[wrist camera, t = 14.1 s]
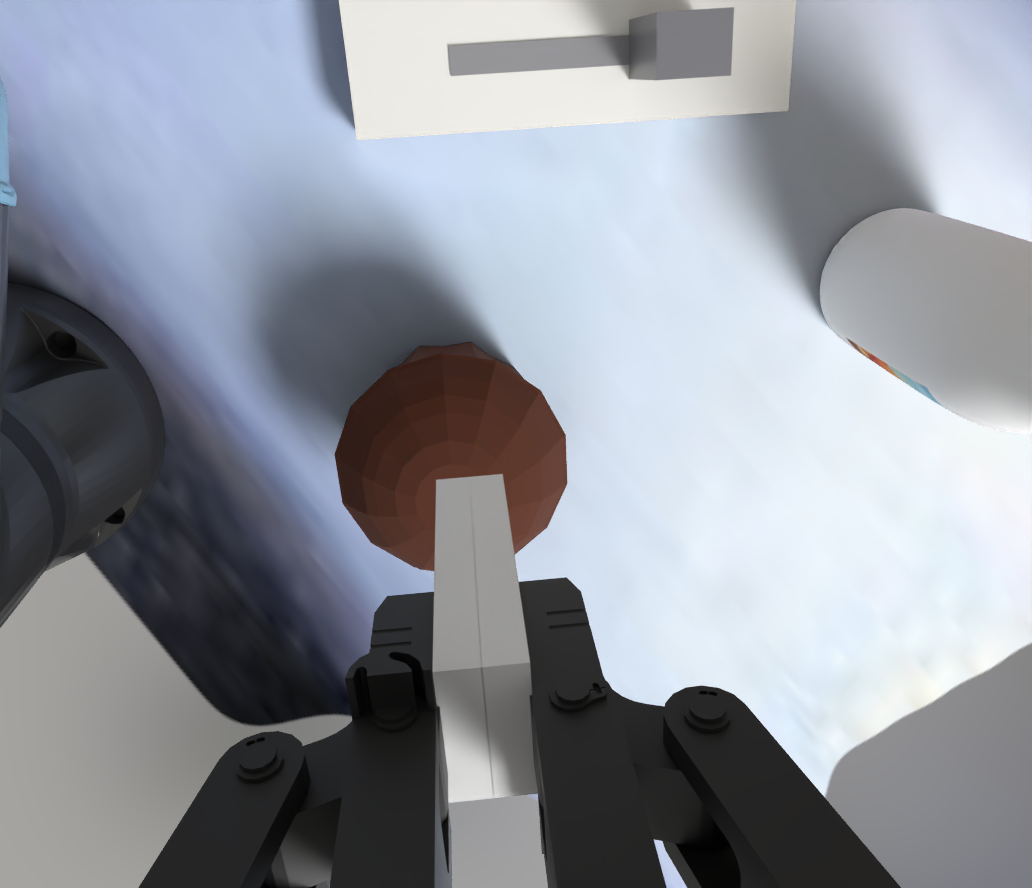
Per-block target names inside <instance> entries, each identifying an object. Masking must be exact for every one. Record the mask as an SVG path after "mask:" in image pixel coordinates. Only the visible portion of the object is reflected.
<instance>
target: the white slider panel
mask: <svg viewBox="0 0 1032 888" xmlns="http://www.w3.org/2000/svg"><path fill="white" fill-rule="evenodd" d="M339 6H340V14H341V21H342V29H343V37H344V45H345V52H346V60H347V68H348V75H349V83H350V91H351V99H352V106H353V114H354V122H355V129H356V137H357V140H367V139H382V138H397V137H412V136H426V135H441V134H456V133H471V132H486V131H500V130H515V129H530V128H545V127H560V126H574V125H589V124H604V123H619V122H634V121H648V120H663V119H678V118H693V117H708V116H722V115H737V114H752V113H767V112H782V111H788V109H789V95H790V81H791V67H792V53H793V40H794V26H795V12H796V0H339Z"/></svg>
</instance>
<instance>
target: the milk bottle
mask: <svg viewBox="0 0 1032 888" xmlns="http://www.w3.org/2000/svg"><path fill="white" fill-rule="evenodd" d="M820 304H821V308H822V312H823V315H824V318H825V320H826V322H827V324H828V325H829V327H830V328H831V329H832V331H833V332H834V333H835V334H836V335H837V336H838V337H839V338H841V339H842V340H843V341H844V342H846V343H847V344H848V345H850V346H851V347H852V348H854V349H855V350H857V351H858V352H860V353H861V354H863V355H864V356H866V357H867V358H869V359H870V360H872V361H873V362H875V363H876V364H878V365H879V366H881V367H882V368H884V369H885V370H887V371H888V372H890V373H891V374H892V375H894V376H895V377H897V378H899V379H900V380H902V381H903V382H905V383H906V384H908V385H909V386H911V387H912V388H914V389H915V390H917V391H918V392H920V393H922V394H923V395H925V396H926V397H928V398H929V399H931V400H932V401H934V402H936V403H937V404H939V405H941V406H943V407H944V408H946V409H948V410H949V411H951V412H953V413H955V414H956V415H958V416H960V417H962V418H964V419H967V420H969V421H972V422H974V423H976V424H979V425H982V426H985V427H989V428H992V429H996V430H1001V431H1007V432H1015V433H1032V242H1029V241H1026V240H1023V239H1020V238H1016V237H1013V236H1010V235H1007V234H1003V233H1000V232H997V231H994V230H990V229H987V228H983V227H980V226H976V225H973V224H969V223H966V222H963V221H959V220H956V219H952V218H949V217H945V216H942V215H938V214H935V213H931V212H927V211H922V210H918V209H912V208H896V209H890V210H886V211H882V212H880V213H877V214H874V215H872V216H870V217H868V218H866V219H865V220H863V221H861V222H860V223H858V224H857V225H855V226H854V227H853V228H851V229H850V230H849V231H848V232H847V233H846V234H845V235H844V236H843V237H842V238H841V239H840V241H839V242H838V243H837V244H836V246H835V247H834V248H833V250H832V252H831V254H830V255H829V257H828V259H827V261H826V263H825V266H824V269H823V272H822V275H821V283H820Z"/></svg>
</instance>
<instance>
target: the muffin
mask: <svg viewBox="0 0 1032 888" xmlns="http://www.w3.org/2000/svg"><path fill="white" fill-rule="evenodd" d="M335 459H336V465H337V471H338V478H339V484H340V490H341V496H342V502H343V504H344V506H345V507H346V508H347V510H348V511H349V513H350V514H351V515H352V517H353V518H354V520H355V521H356V522H357V524H358V525H359V526H360V528H361V529H362V531H363V532H364V533H365V535H366V536H367V538H368V539H369V540H370V542H371V543H372V544H374V545H376V546H378V547H380V548H381V549H383V550H385V551H387V552H388V553H390V554H392V555H394V556H395V557H397V558H399V559H401V560H403V561H404V562H406V563H408V564H410V565H411V566H413V567H417V568H419V569H421V570H430V571H434V568H435V516H436V480H439V479H451V478H462V477H473V476H485V475H496V474H503V480H504V487H505V494H506V500H507V507H508V514H509V521H510V528H511V535H512V542H513V548H514V555H515V554H516V553H517V552H518V551H520V550H521V549H522V548H523V547H524V546H526V545H527V544H528V543H529V542H530V541H531V540H533V539H534V538H535V537H536V536H537V535H539V534H540V533H541V532H542V531H543V530H544V529H546V528H547V526H548V524H549V522H550V520H551V518H552V516H553V513H554V511H555V509H556V507H557V505H558V502H559V500H560V498H561V496H562V494H563V492H564V489H565V487H566V485H567V464H566V436H565V433H564V431H563V430H562V428H561V426H560V424H559V422H558V421H557V419H556V417H555V415H554V414H553V412H552V410H551V408H550V406H549V405H548V403H547V401H546V399H545V397H544V396H543V394H542V392H541V391H540V390H539V389H538V388H536V387H535V386H533V385H532V384H530V383H529V382H527V381H526V380H524V378H523V377H522V376H521V375H520V374H519V373H518V371H517V370H516V369H515V368H514V367H513V366H510V365H508V364H506V363H504V362H502V361H500V360H498V359H495V358H493V357H491V356H490V355H488V354H487V353H486V352H484V351H483V350H481V349H480V348H479V347H477V346H476V345H474V344H473V343H472V342H466V343H460V344H455V345H449V346H419V347H418V348H417V349H416V350H415V351H414V352H413V353H412V354H411V355H410V356H409V357H408V358H407V359H406V360H405V361H404V362H403V363H402V364H400V365H399V366H397V367H395V368H392V369H389V370H388V371H387V372H386V373H385V374H384V375H383V376H382V377H381V378H380V379H379V380H378V381H377V382H376V383H374V384H373V385H372V386H371V387H370V388H369V389H368V390H367V391H366V392H365V393H364V394H363V395H362V396H361V397H360V398H359V399H358V400H357V401H356V402H355V403H354V404H353V405H352V406H351V407H350V410H349V413H348V416H347V419H346V422H345V425H344V428H343V431H342V434H341V437H340V440H339V443H338V446H337V449H336V452H335Z"/></svg>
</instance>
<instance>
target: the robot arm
mask: <svg viewBox="0 0 1032 888" xmlns="http://www.w3.org/2000/svg"><path fill="white" fill-rule="evenodd" d="M16 200H17V195H16V193H15V190H14V188H13V187H12V186H11V185H10V183H9V147H8V103H7V96H6V91H5V88H4V85H3V82H2V80H1V78H0V627H1V626H2V625H3V624H4V622H5V621H6V620H7V619H8V617H9V616H10V615H11V614H12V612H13V611H14V610H15V609H16V607H17V606H18V605H19V604H20V602H21V601H22V600H23V598H24V597H25V596H26V595H27V593H28V592H29V591H30V590H31V588H32V587H33V586H34V584H35V583H36V582H37V580H38V579H39V578H40V576H41V575H42V574H43V573H44V572H45V571H47V570H49V569H51V568H53V567H55V566H57V565H59V564H61V563H63V562H65V561H68V560H70V559H72V558H74V557H76V556H78V555H80V554H82V553H84V552H86V551H89V550H90V549H92V548H94V547H96V546H98V545H100V544H101V543H103V542H104V541H106V540H107V539H109V538H110V537H111V536H113V535H114V534H115V533H116V532H118V531H119V530H120V529H121V528H122V527H123V526H124V525H125V524H126V523H127V522H128V521H129V520H130V519H131V517H132V516H133V515H134V514H135V512H136V511H137V510H138V508H139V507H140V505H141V504H142V503H143V501H144V500H145V498H146V497H147V495H148V494H149V492H150V491H151V489H152V487H153V485H154V484H155V482H156V479H157V477H158V474H159V471H160V468H161V465H162V461H163V456H164V448H165V429H164V421H163V416H162V411H161V407H160V404H159V400H158V398H157V395H156V392H155V390H154V388H153V385H152V383H151V381H150V379H149V377H148V376H147V374H146V372H145V370H144V369H143V367H142V366H141V364H140V363H139V361H138V360H137V359H136V357H135V356H134V355H133V353H132V352H131V351H130V350H129V349H128V347H127V346H126V345H125V344H124V343H123V342H122V341H121V340H120V339H119V338H118V337H117V336H116V335H115V334H114V333H113V332H112V331H111V330H110V329H109V328H107V327H106V326H105V325H104V324H102V323H101V322H100V321H99V320H97V319H96V318H94V317H93V316H92V315H90V314H89V313H87V312H86V311H84V310H82V309H81V308H79V307H77V306H76V305H74V304H72V303H70V302H68V301H66V300H64V299H62V298H59V297H57V296H55V295H53V294H50V293H47V292H45V291H42V290H39V289H35V288H32V287H28V286H24V285H20V284H14V283H9V282H8V258H9V233H10V207H11V206H16ZM370 646H371V649H370V653H369V654H367V655H365V656H363V657H361V658H359V659H358V660H357V661H356V662H355V663H354V664H353V665H352V666H351V667H350V668H349V670H348V673H347V675H346V677H345V681H346V687H347V692H348V698H349V703H350V709H351V714H352V722H351V723H350V724H349V725H348V726H346V727H345V728H343V729H342V730H340V731H339V732H337V733H336V734H334V735H331V736H329V737H327V738H325V739H322V740H319V741H317V742H313V743H311V744H308V745H305V746H302V743H301V742H300V741H299V740H298V739H297V738H295V737H294V736H293V735H291V734H287V733H283V732H279V731H276V732H262V733H259V734H256V735H253V736H250V737H247V738H245V739H243V740H241V741H240V742H238V743H237V744H235V745H234V746H232V747H231V748H229V749H228V751H227V752H226V753H225V754H224V755H223V756H222V757H221V758H220V760H219V761H218V762H217V764H216V766H215V767H214V769H213V771H212V772H211V774H210V775H209V777H208V778H207V780H206V782H205V783H204V785H203V786H202V788H201V790H200V791H199V793H198V794H197V796H196V797H195V799H194V801H193V802H192V804H191V806H190V807H189V808H188V810H187V812H186V813H185V815H184V816H183V818H182V820H181V821H180V823H179V824H178V826H177V828H176V829H175V831H174V832H173V834H172V835H171V837H170V839H169V840H168V842H167V843H166V845H165V847H164V848H163V850H162V851H161V853H160V855H159V856H158V858H157V859H156V861H155V862H154V864H153V866H152V867H151V869H150V871H149V872H148V874H147V875H146V877H145V878H144V880H143V881H142V883H141V885H140V886H139V888H452V867H451V866H452V864H451V826H450V818H449V810H448V799H449V803H452V802H462V801H471V800H479V799H489V798H499V797H508V796H517V795H527V794H537V793H538V800H539V815H540V831H541V844H542V845H541V846H542V854H544V858H545V865H546V874H547V882H548V888H666V884H665V880H664V877H663V873H662V869H661V866H660V862H659V858H658V854H657V851H656V847H655V843H654V840H653V839H655V840H661V841H663V844H664V847H665V850H666V852H667V853H668V855H669V857H670V859H671V860H672V862H673V864H674V865H675V867H676V869H677V871H678V872H679V874H680V876H681V877H682V879H683V881H684V883H685V884H686V886H687V888H901V887H900V886H899V885H898V884H897V882H896V881H895V880H894V879H893V878H892V877H891V875H890V874H889V873H888V872H887V871H886V870H885V869H884V867H883V866H882V865H881V864H880V862H879V861H878V860H877V859H876V858H875V857H874V855H873V854H872V853H871V852H870V851H869V850H868V848H867V847H866V846H865V845H864V844H863V843H862V841H861V840H860V839H859V838H858V836H857V835H856V834H855V833H854V832H853V831H852V830H851V828H850V827H849V826H848V825H847V824H846V822H845V821H844V820H843V819H842V818H841V816H840V815H839V814H838V813H837V812H836V811H835V809H834V808H833V807H832V806H831V805H830V803H829V802H828V801H827V800H826V799H825V798H824V796H823V795H822V794H821V793H820V792H819V791H818V789H817V788H816V787H815V786H814V785H813V783H812V782H811V781H810V780H809V779H808V778H807V776H806V775H805V774H804V773H803V772H802V770H801V769H800V768H799V767H798V766H797V765H796V763H795V762H794V761H793V760H792V759H791V758H790V756H789V755H788V754H787V753H786V752H785V750H784V749H783V748H782V747H781V746H780V745H779V743H778V742H777V741H776V740H775V739H774V737H773V736H772V735H771V734H770V733H769V732H768V730H767V729H766V728H765V727H764V726H763V725H762V723H761V722H760V721H759V720H758V719H757V717H756V716H755V715H754V714H753V713H752V712H751V710H750V709H749V708H748V707H747V706H746V705H745V703H743V702H742V701H741V700H740V699H738V698H737V697H736V696H735V695H734V694H732V693H729V692H727V691H724V690H722V689H719V688H715V687H708V686H696V687H688V688H684V689H682V690H680V691H678V692H676V693H674V694H673V695H672V696H671V697H670V698H669V700H668V701H667V702H666V703H665V707H663V706H656V705H649V704H644V703H639V702H635V701H632V700H629V699H627V698H625V697H622V696H621V695H619V694H618V693H616V692H615V691H614V690H612V688H611V687H610V685H609V683H608V682H607V681H605V679H604V676H603V674H602V670H601V666H600V662H599V659H598V655H597V651H596V647H595V643H594V640H593V636H592V632H591V628H590V626H589V621H588V617H587V613H586V611H585V605H584V602H583V598H582V594H581V591H580V590H579V589H578V588H577V587H576V586H575V585H574V584H573V583H572V582H571V581H569V580H568V579H567V578H556V579H545V580H535V581H524V582H518V576H517V569H516V562H515V555H514V548H513V542H512V535H511V528H510V521H509V514H508V507H507V500H506V494H505V487H504V480H503V474H496V475H485V476H473V477H462V478H451V479H439V480H436V516H435V568H434V592H427V593H416V594H405V595H395V596H387V597H386V599H385V600H384V601H383V603H382V604H381V605H380V606H379V608H378V609H377V610H376V612H375V614H374V621H373V629H372V637H371V645H370ZM330 879H331V880H330ZM329 884H330V887H329Z"/></svg>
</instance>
